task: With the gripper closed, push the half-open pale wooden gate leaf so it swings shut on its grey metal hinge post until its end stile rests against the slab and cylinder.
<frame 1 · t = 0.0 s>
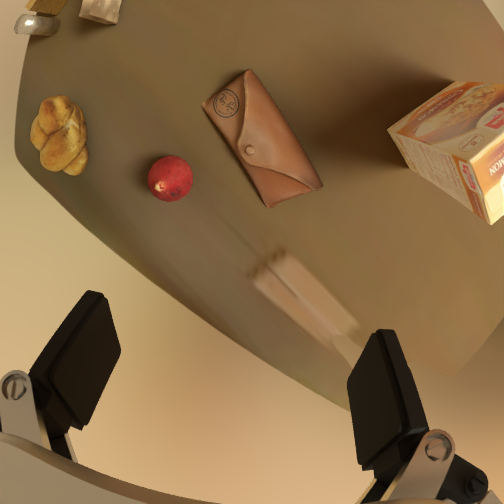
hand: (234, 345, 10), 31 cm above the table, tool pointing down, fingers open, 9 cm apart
coffeecake box: (433, 123, 32), on the table
sunglasses case: (261, 140, 36), on the table
red round fruit: (179, 171, 38), on the table
slab and cylinder: (53, 27, 26), on the table
bread roll: (71, 135, 36), on the table
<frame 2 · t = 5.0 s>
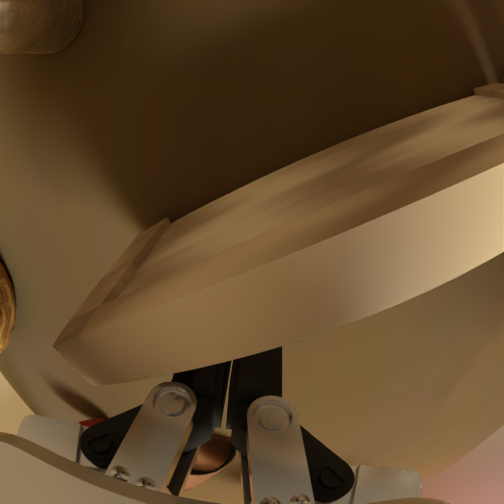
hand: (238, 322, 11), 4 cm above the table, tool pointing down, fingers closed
gate leaf: (365, 186, 7), point 4 cm above the table, hinge at 34.1°, touching gripper
sunglasses case: (181, 448, 28), on the table
slab and cylinder: (59, 24, 8), on the table
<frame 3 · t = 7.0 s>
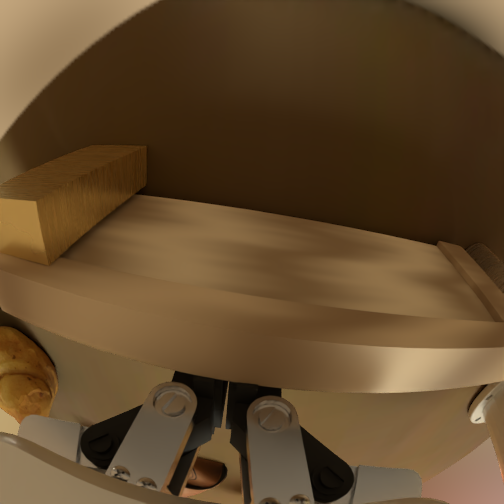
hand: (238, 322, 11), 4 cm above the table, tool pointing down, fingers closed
hinge post: (473, 261, 13), on the table
gate leaf: (291, 277, 9), point 4 cm above the table, hinge at -0.9°, touching gripper, slab and cylinder
sunglasses case: (182, 466, 33), on the table
slab and cylinder: (66, 200, 13), on the table
bread roll: (30, 356, 22), on the table
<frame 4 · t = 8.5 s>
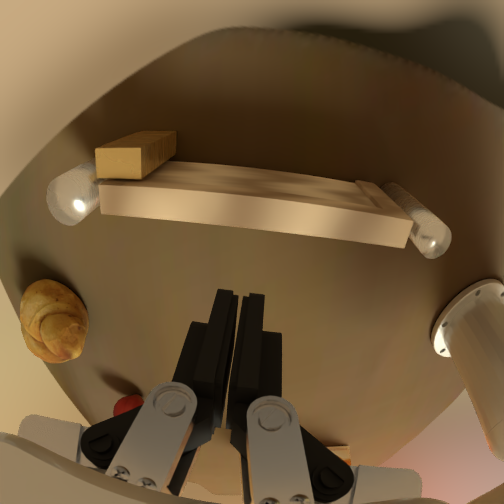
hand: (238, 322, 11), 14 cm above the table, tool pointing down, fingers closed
hinge post: (390, 195, 22), on the table
gate leaf: (257, 191, 18), point 4 cm above the table, hinge at -0.3°
red round fruit: (138, 394, 39), on the table
slab and cylinder: (119, 166, 22), on the table
bread roll: (62, 308, 31), on the table
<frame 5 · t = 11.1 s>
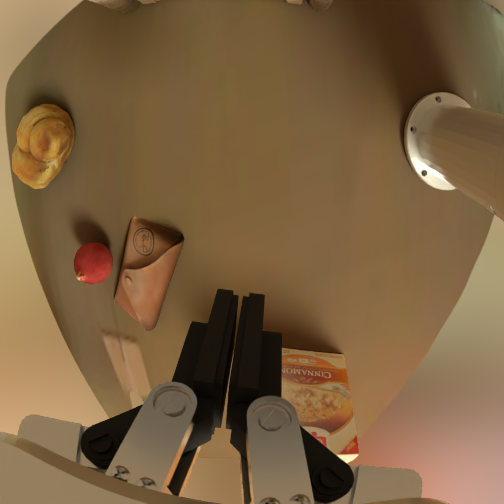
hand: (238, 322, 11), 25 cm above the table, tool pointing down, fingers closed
hinge post: (319, 2, 22), on the table
coffeecake box: (298, 361, 48), on the table
sunglasses case: (146, 271, 42), on the table
red round fruit: (106, 249, 40), on the table
slab and cylinder: (128, 3, 22), on the table
bread roll: (53, 143, 32), on the table
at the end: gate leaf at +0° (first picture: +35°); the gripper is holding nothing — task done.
